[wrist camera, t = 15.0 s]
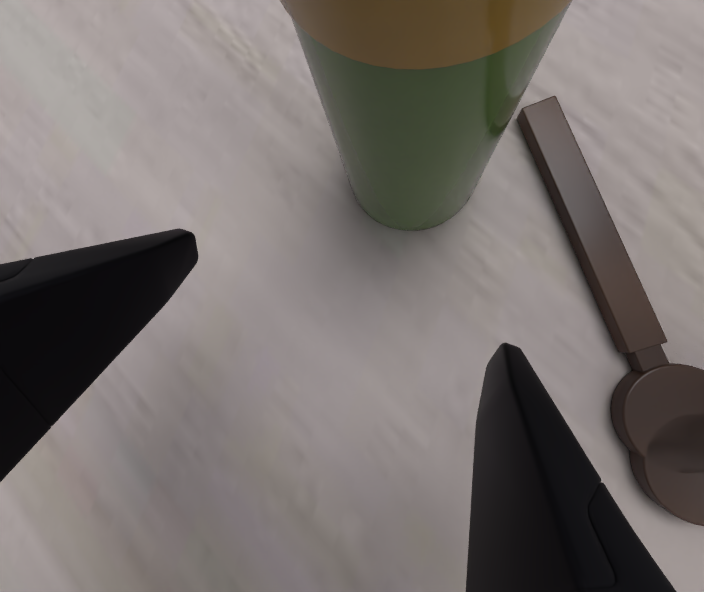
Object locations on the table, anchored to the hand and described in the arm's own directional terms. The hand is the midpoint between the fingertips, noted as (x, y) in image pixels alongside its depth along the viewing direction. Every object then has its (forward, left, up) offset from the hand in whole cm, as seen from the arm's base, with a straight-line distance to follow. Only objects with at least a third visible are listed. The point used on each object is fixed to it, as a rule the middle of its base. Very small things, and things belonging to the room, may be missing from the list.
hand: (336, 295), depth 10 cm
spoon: (-2, -11, -8) cm, 14 cm away
